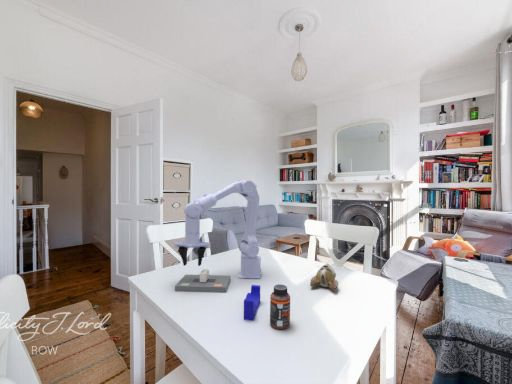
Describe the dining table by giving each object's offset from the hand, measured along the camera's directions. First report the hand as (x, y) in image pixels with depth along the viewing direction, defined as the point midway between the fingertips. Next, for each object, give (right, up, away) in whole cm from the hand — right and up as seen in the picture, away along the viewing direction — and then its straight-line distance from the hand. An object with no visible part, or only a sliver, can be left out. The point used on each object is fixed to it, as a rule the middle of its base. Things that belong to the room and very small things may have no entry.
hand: (192, 264), depth 97 cm
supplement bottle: (+33, -10, -27) cm, 44 cm away
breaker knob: (+5, -6, 0) cm, 8 cm away
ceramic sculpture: (+55, -9, +1) cm, 56 cm away
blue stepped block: (+24, -9, -19) cm, 32 cm away
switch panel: (+5, -8, 0) cm, 10 cm away
